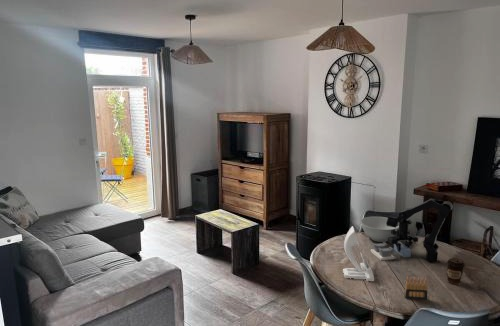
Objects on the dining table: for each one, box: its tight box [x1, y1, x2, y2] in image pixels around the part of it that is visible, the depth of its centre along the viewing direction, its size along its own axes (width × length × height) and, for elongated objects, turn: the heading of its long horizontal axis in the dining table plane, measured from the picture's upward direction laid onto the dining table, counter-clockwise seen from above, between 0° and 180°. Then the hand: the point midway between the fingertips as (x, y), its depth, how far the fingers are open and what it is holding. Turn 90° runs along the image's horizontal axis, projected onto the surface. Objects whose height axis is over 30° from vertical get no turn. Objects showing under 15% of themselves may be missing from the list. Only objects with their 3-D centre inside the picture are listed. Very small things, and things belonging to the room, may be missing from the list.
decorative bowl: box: [360, 215, 399, 243], centre depth 261 cm, size 27×27×12 cm
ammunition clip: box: [403, 275, 429, 301], centre depth 186 cm, size 11×2×12 cm, turn 81°
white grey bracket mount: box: [370, 242, 395, 261], centre depth 235 cm, size 13×9×6 cm
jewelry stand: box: [342, 225, 375, 282], centre depth 214 cm, size 25×16×25 cm, turn 175°
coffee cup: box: [446, 257, 466, 285], centre depth 200 cm, size 9×8×13 cm
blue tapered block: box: [393, 241, 412, 258], centre depth 237 cm, size 12×4×5 cm, turn 10°
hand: (401, 251), depth 238 cm, fingers closed on blue tapered block, 4 cm apart
